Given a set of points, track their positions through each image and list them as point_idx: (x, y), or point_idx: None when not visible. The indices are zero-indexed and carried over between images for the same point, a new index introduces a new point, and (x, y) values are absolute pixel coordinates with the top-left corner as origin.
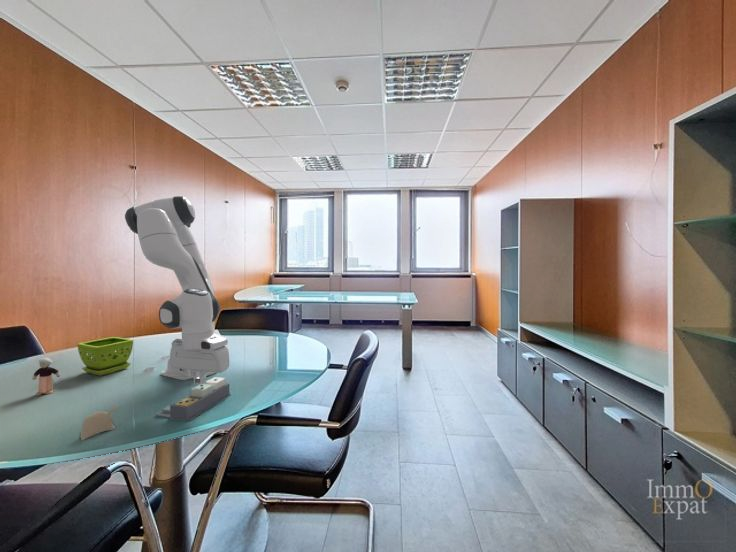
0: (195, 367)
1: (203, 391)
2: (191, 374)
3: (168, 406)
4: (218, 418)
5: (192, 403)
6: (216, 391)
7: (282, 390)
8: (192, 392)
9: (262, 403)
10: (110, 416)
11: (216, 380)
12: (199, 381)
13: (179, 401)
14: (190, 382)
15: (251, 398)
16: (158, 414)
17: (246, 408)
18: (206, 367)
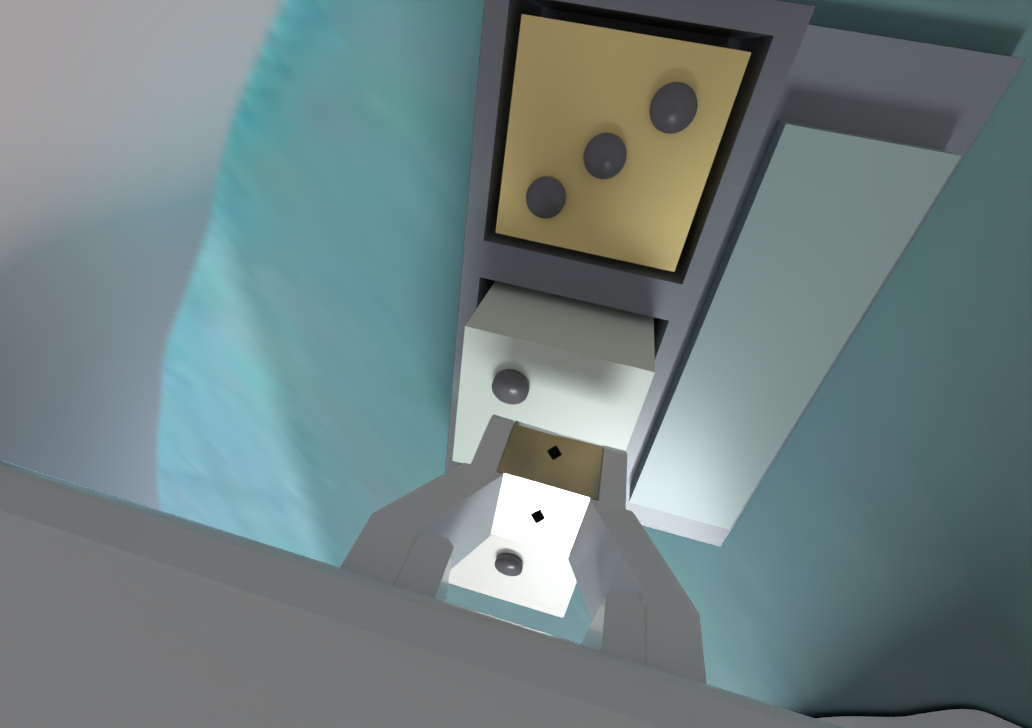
0: (467, 695)
1: (468, 331)
2: (665, 573)
3: (906, 232)
4: (281, 86)
5: (512, 127)
6: (451, 418)
7: (201, 486)
8: (629, 344)
9: (173, 340)
10: None
11: (492, 551)
12: (514, 442)
13: (724, 164)
14: (890, 670)
15: (291, 409)
16: (979, 72)
17: (211, 270)
18: (77, 605)
